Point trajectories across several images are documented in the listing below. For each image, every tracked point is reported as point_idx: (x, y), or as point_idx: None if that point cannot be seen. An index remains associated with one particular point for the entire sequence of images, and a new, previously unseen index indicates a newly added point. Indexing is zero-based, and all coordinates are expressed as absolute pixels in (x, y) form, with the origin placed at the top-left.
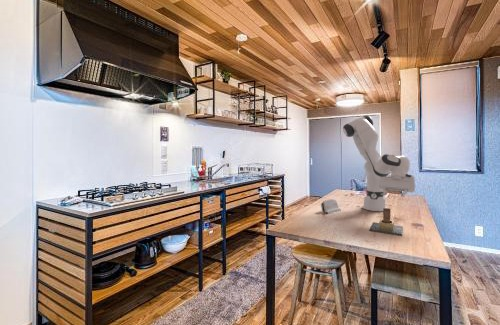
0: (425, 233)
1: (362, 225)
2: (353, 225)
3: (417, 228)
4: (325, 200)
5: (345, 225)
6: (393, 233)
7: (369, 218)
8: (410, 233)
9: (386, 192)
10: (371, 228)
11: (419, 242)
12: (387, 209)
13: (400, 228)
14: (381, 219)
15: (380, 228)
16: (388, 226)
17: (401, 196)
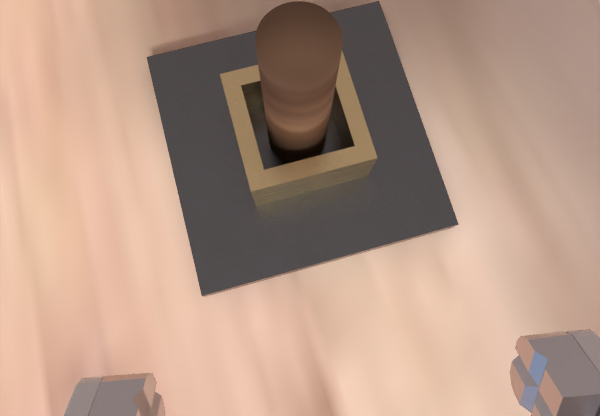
0: (15, 267)
1: (488, 107)
2: (536, 53)
3: None
4: None
5: (577, 8)
6: (208, 46)
7: None
8: (115, 173)
9: (541, 378)
10: (374, 24)
11: (22, 7)
12: (279, 6)
13: (199, 200)
14: (366, 158)
15: None
16: None
17: (157, 409)
